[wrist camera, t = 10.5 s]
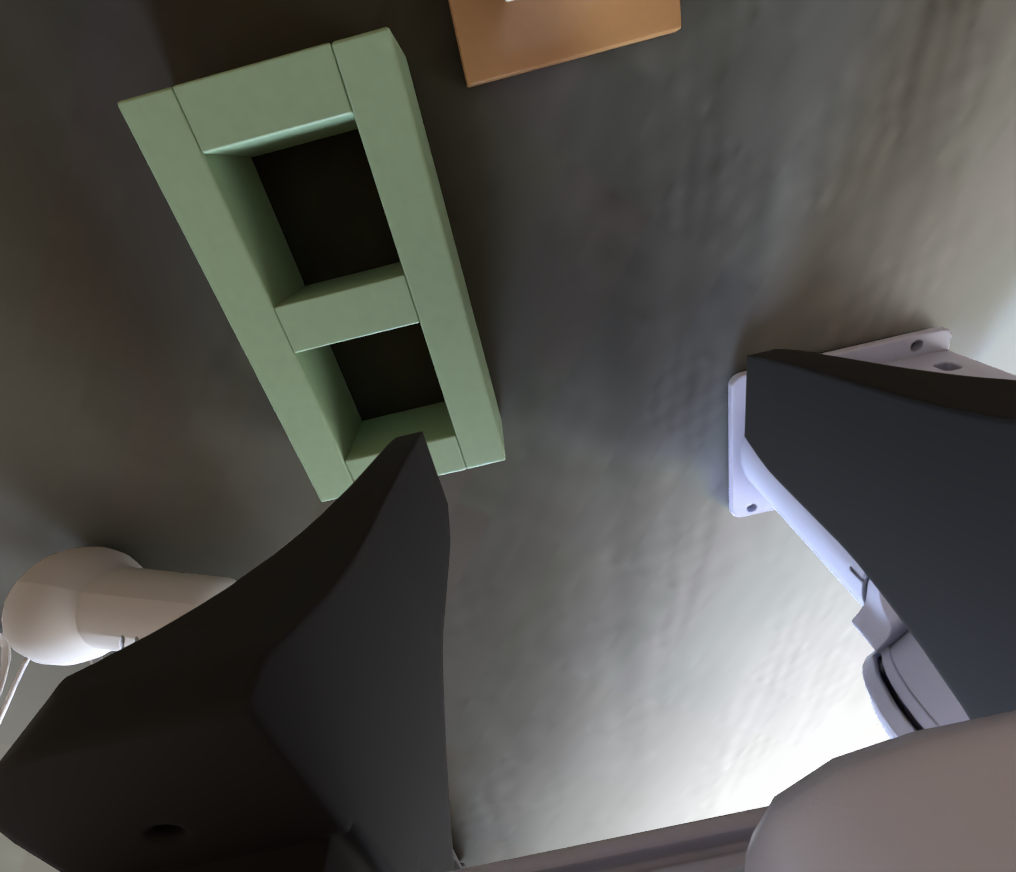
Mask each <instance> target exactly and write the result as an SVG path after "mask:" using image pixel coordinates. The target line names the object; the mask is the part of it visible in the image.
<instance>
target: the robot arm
mask: <svg viewBox="0 0 1016 872" xmlns="http://www.w3.org/2000/svg"><path fill="white" fill-rule="evenodd" d="M951 335H952V333H951V331H950V330H948V329H946V328H943V327H934V328H929V329H925V330H921V331H916V332H912V333H908V334H903V335H899V336H895V337H890V338H886V339H882V340H877V341H873V342H869V343H864V344H860V345H856V346H851V347H847V348H843V349H838V350H834V351H830V352H825V353H821V354H819V353H813V352H805V351H798V350H787V349H774V350H769V351H765V352H761V353H757V354H752V355H748V356H747V371H743V372H739V373H737V374H735V375H734V376H732V377H731V379H730V380H729V383H728V439H729V510H730V512H731V513H732V514H733V515H734V516H735V517H744V516H748V515H753V514H757V513H762V512H767V511H771V510H776V511H777V512H778V513H779V514H780V515H781V516H782V517H783V519H784V520H785V521H786V522H787V523H788V524H789V525H790V526H791V527H792V529H793V530H794V531H795V532H796V533H797V534H798V535H799V536H800V538H801V539H802V540H803V541H804V542H805V543H806V544H807V545H808V546H809V548H810V549H811V550H812V551H813V552H814V553H815V554H816V555H817V556H818V558H819V559H820V560H821V561H822V562H823V563H824V564H825V565H826V566H827V568H828V569H829V570H830V571H831V572H832V573H833V574H834V575H835V576H836V578H837V579H838V580H839V581H840V582H841V583H842V584H843V585H844V587H845V588H846V589H847V590H848V591H849V592H850V593H851V594H852V595H853V597H854V598H855V599H856V600H857V601H858V602H859V603H860V604H861V605H862V609H861V610H860V612H859V613H858V614H857V615H856V616H855V617H854V618H853V620H852V623H853V624H854V626H855V627H856V628H857V629H858V630H859V631H860V633H861V634H862V635H863V636H864V637H865V639H866V640H867V641H868V642H869V643H870V645H871V646H872V647H873V648H874V649H875V651H874V652H872V653H871V654H870V655H869V656H867V657H866V659H865V661H864V664H863V678H864V682H865V686H866V689H867V691H868V693H869V695H870V699H871V703H872V706H873V708H874V711H875V713H876V715H877V717H878V719H879V721H880V723H881V724H882V726H883V728H884V729H885V731H886V733H887V734H888V736H889V737H890V738H891V739H890V740H887V741H884V742H881V743H878V744H875V745H872V746H869V747H866V748H863V749H860V750H857V751H854V752H851V753H848V754H845V755H842V756H839V757H836V758H833V759H832V760H830V761H829V762H827V763H825V764H824V765H822V766H821V767H819V768H818V769H816V770H815V771H813V772H812V773H810V774H809V775H807V776H806V777H804V778H803V779H801V780H800V781H798V782H797V783H795V784H793V785H792V786H790V787H789V788H787V789H786V790H784V791H783V792H781V793H780V794H778V795H777V796H775V797H774V799H773V800H772V802H771V804H770V805H769V806H767V807H762V808H757V809H752V810H747V811H743V812H738V813H733V814H728V815H723V816H718V817H713V818H708V819H704V820H699V821H694V822H689V823H684V824H679V825H674V826H670V827H665V828H660V829H655V830H650V831H645V832H640V833H635V834H631V835H626V836H621V837H616V838H611V839H606V840H601V841H596V842H592V843H587V844H582V845H577V846H572V847H567V848H562V849H558V850H553V851H548V852H543V853H538V854H533V855H528V856H523V857H519V858H514V859H509V860H504V861H499V862H494V863H489V864H484V865H480V866H475V867H470V868H465V869H460V870H455V871H454V859H453V846H452V833H451V820H450V806H449V789H448V773H447V756H446V736H445V713H444V685H443V628H444V616H445V604H446V591H447V579H448V566H449V553H450V527H449V513H448V503H447V500H446V497H445V494H444V492H443V489H442V486H441V483H440V480H439V477H438V474H437V471H436V469H435V466H434V463H433V460H432V457H431V454H430V451H429V448H428V446H427V443H426V440H425V437H424V434H423V431H421V432H417V433H413V434H408V435H404V436H400V437H396V438H395V439H393V440H392V441H391V442H390V443H389V444H388V445H387V446H386V447H385V448H384V449H383V450H382V452H381V453H380V454H379V455H378V456H377V457H376V458H375V459H374V460H373V462H372V463H371V464H370V465H369V466H368V467H367V468H366V469H365V470H364V471H363V473H362V474H361V475H360V476H359V477H358V478H357V479H356V480H355V481H354V482H353V484H352V485H351V486H350V487H349V488H348V489H347V490H346V491H345V492H344V493H343V494H342V495H341V496H340V497H339V498H338V499H337V500H336V501H335V502H334V503H333V504H332V505H331V506H330V507H329V508H328V509H327V510H326V511H325V512H324V513H323V514H322V515H321V516H320V517H318V518H317V519H316V520H315V521H314V522H313V523H312V524H311V525H310V526H308V527H307V528H306V529H305V530H304V531H303V532H301V533H300V534H299V535H298V536H297V537H295V538H294V539H293V540H292V541H291V542H289V543H288V544H287V545H286V546H284V547H283V548H282V549H281V550H279V551H278V552H277V553H275V554H274V555H273V556H271V557H270V558H269V559H267V560H266V561H264V562H263V563H262V564H260V565H259V566H257V567H256V568H255V569H253V570H252V571H250V572H249V573H247V574H246V575H245V576H243V577H242V578H240V579H239V580H238V581H236V582H235V583H233V584H232V585H231V586H229V587H228V588H226V589H224V590H223V591H221V592H220V593H218V594H217V595H215V596H213V597H212V598H210V599H209V600H207V601H206V602H204V603H202V604H201V605H199V606H198V607H196V608H194V609H192V610H191V611H189V612H187V613H186V614H184V615H182V616H181V617H179V618H177V619H176V620H174V621H172V622H170V623H169V624H167V625H165V626H163V627H162V628H160V629H158V630H156V631H155V632H153V633H151V634H149V635H147V636H145V637H144V638H142V639H140V640H138V641H136V642H134V643H132V644H130V645H128V646H126V647H124V648H122V649H121V650H119V651H117V652H115V653H113V654H111V655H109V656H107V657H105V658H103V659H101V660H100V661H98V662H96V663H94V664H92V665H90V666H88V667H86V668H84V669H82V670H80V671H78V672H76V673H74V674H72V675H70V676H68V677H66V678H65V679H64V680H63V681H62V682H61V683H60V684H59V685H58V687H57V688H56V689H55V691H54V692H53V693H52V695H51V696H50V697H49V699H48V700H47V701H46V703H45V704H44V705H43V706H42V708H41V709H40V710H39V712H38V713H37V714H36V715H35V717H34V718H33V719H32V721H31V722H30V723H29V725H28V726H27V727H26V728H25V730H24V731H23V732H22V734H21V735H20V736H19V737H18V739H17V740H16V741H15V743H14V744H13V745H12V746H11V748H10V749H9V750H8V752H7V753H6V754H5V755H4V757H3V758H2V759H1V761H0V832H1V833H2V834H4V835H5V836H6V837H7V838H9V839H10V840H11V841H12V842H14V843H15V844H17V845H18V846H20V847H21V848H23V849H25V850H26V851H28V852H29V853H31V854H33V855H34V856H36V857H38V858H39V859H41V860H42V861H44V862H46V863H47V864H49V865H50V866H52V867H54V868H55V869H57V870H59V871H60V872H1016V376H1015V375H1013V374H1010V373H1007V372H1005V371H1002V370H999V369H997V368H994V367H991V366H989V365H986V364H983V363H981V362H978V361H975V360H973V359H970V358H967V357H965V356H962V355H959V354H957V353H954V352H951V351H949V346H950V342H951ZM915 341H916V342H915ZM914 342H915V345H914V346H913V347H911V345H912V344H913V343H914ZM750 504H752V505H751V506H750V507H748V506H749V505H750Z"/></svg>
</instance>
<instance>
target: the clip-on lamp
mask: <svg viewBox="0 0 1016 872" xmlns="http://www.w3.org/2000/svg"><path fill="white" fill-rule="evenodd" d="M236 581H237V580H234V579H232V578H227V577H221V576H211V575H201V574H192V573H182V572H172V571H163V570H153V569H144V568H142V566H140V565H139V564H138V563H137V562H136V561H135V560H134V559H133V558H131V557H130V556H129V555H127V554H125V553H122V552H119V551H116V550H113V549H110V548H106V547H77V548H72V549H68V550H65V551H62V552H59V553H56V554H53V555H51V556H48V557H46V558H44V559H43V560H41V561H40V562H38V563H37V564H35V565H34V566H32V567H30V568H29V569H28V570H27V571H26V572H25V573H24V574H23V575H22V576H21V578H20V579H19V580H18V581H17V582H16V583H15V584H14V586H13V588H12V590H11V591H10V593H9V595H8V597H7V598H6V600H5V604H4V608H3V613H2V617H1V621H2V628H3V633H2V632H0V646H1V649H2V665H1V669H0V696H1V693H2V690H3V687H4V684H5V681H6V678H7V674H8V669H9V665H10V661H11V647H12V648H13V649H14V650H15V651H16V652H18V653H19V654H21V655H23V656H25V659H24V661H23V663H22V665H21V667H20V669H19V671H18V673H17V675H16V677H15V679H14V681H13V683H12V686H11V688H10V690H9V692H8V695H7V697H6V699H5V701H4V704H3V706H2V708H1V710H0V724H1V722H2V720H3V717H4V715H5V713H6V711H7V708H8V706H9V704H10V702H11V699H12V697H13V694H14V692H15V690H16V687H17V685H18V683H19V681H20V679H21V677H22V674H23V672H24V670H25V668H26V666H27V664H28V662H29V660H32V661H34V662H37V663H41V664H52V665H73V664H78V663H81V662H85V661H89V662H90V663H91V664H94V663H96V662H98V661H100V660H101V659H103V658H104V657H103V655H104V654H106V653H108V652H109V651H119V650H121V649H122V648H124V647H126V646H128V645H130V644H132V643H134V642H136V641H138V640H140V639H142V638H144V637H145V636H147V635H149V634H151V633H153V632H155V631H156V630H158V629H160V628H162V627H163V626H165V625H167V624H169V623H170V622H172V621H174V620H176V619H177V618H179V617H181V616H182V615H184V614H186V613H187V612H189V611H191V610H192V609H194V608H196V607H198V606H199V605H201V604H202V603H204V602H206V601H207V600H209V599H210V598H212V597H213V596H215V595H217V594H218V593H220V592H221V591H223V590H224V589H226V588H228V587H229V586H231V585H232V584H233V583H235V582H236Z"/></svg>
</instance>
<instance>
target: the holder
mask: <svg viewBox="0 0 1016 872" xmlns="http://www.w3.org/2000/svg"><path fill="white" fill-rule="evenodd" d="M118 106H119V108H120V110H121V112H122V114H123V116H124V118H125V120H126V122H127V124H128V126H129V128H130V130H131V132H132V134H133V136H134V138H135V140H136V142H137V143H138V145H139V147H140V149H141V151H142V153H143V155H144V157H145V159H146V161H147V163H148V165H149V167H150V169H151V171H152V173H153V175H154V177H155V179H156V180H157V182H158V184H159V186H160V188H161V190H162V192H163V194H164V196H165V198H166V200H167V202H168V204H169V206H170V208H171V210H172V212H173V214H174V216H175V217H176V219H177V221H178V223H179V225H180V227H181V229H182V231H183V233H184V235H185V237H186V239H187V241H188V243H189V245H190V247H191V249H192V251H193V253H194V254H195V256H196V258H197V260H198V262H199V264H200V266H201V268H202V270H203V272H204V274H205V276H206V278H207V280H208V282H209V284H210V286H211V288H212V290H213V292H214V293H215V295H216V297H217V299H218V301H219V303H220V305H221V307H222V309H223V311H224V313H225V315H226V317H227V319H228V321H229V323H230V325H231V327H232V329H233V330H234V332H235V334H236V336H237V338H238V340H239V342H240V344H241V346H242V348H243V350H244V352H245V354H246V356H247V358H248V360H249V362H250V364H251V366H252V367H253V369H254V371H255V373H256V375H257V377H258V379H259V381H260V383H261V385H262V387H263V389H264V391H265V393H266V395H267V397H268V399H269V401H270V403H271V405H272V406H273V408H274V410H275V412H276V414H277V416H278V418H279V420H280V422H281V424H282V426H283V428H284V430H285V432H286V434H287V436H288V438H289V440H290V442H291V443H292V445H293V447H294V449H295V451H296V453H297V455H298V457H299V459H300V461H301V463H302V465H303V467H304V469H305V471H306V473H307V475H308V477H309V479H310V480H311V482H312V484H313V486H314V488H315V490H316V492H317V494H318V496H319V498H320V500H321V501H322V502H324V501H328V500H333V499H337V498H339V497H340V496H341V495H342V494H343V493H344V492H345V491H346V490H347V489H348V488H349V487H350V486H351V485H352V484H353V482H354V481H355V480H356V479H357V478H358V477H359V476H360V475H361V474H362V473H363V471H364V470H365V469H366V468H367V467H368V466H369V465H370V464H371V463H372V462H373V460H374V459H375V458H376V457H377V456H378V455H379V454H380V453H381V452H382V450H383V449H384V448H385V447H386V446H387V445H388V444H389V443H390V442H391V441H392V440H393V439H395V438H396V437H400V436H404V435H408V434H413V433H417V432H421V431H423V434H424V437H425V440H426V443H427V446H428V448H429V451H430V454H431V457H432V460H433V463H434V466H435V469H436V471H437V474H438V476H439V475H443V474H447V473H452V472H456V471H460V470H465V469H466V467H467V468H472V467H477V466H481V465H486V464H490V463H494V462H499V461H503V460H505V458H506V457H505V448H504V439H503V430H502V422H501V417H500V413H499V409H498V405H497V402H496V398H495V394H494V390H493V386H492V383H491V379H490V375H489V371H488V367H487V364H486V360H485V356H484V352H483V348H482V345H481V341H480V337H479V333H478V329H477V326H476V322H475V318H474V314H473V310H472V307H471V303H470V299H469V295H468V291H467V288H466V284H465V280H464V276H463V272H462V269H461V265H460V261H459V257H458V253H457V249H456V246H455V242H454V238H453V234H452V230H451V227H450V223H449V219H448V215H447V211H446V208H445V204H444V200H443V196H442V192H441V189H440V185H439V181H438V177H437V173H436V170H435V166H434V162H433V158H432V154H431V151H430V147H429V143H428V139H427V135H426V132H425V128H424V124H423V120H422V116H421V113H420V109H419V105H418V101H417V97H416V94H415V90H414V86H413V82H412V78H411V75H410V71H409V67H408V63H407V59H406V56H405V55H404V53H403V51H402V50H401V48H400V46H399V44H398V43H397V41H396V39H395V38H394V36H393V34H392V32H391V31H390V29H389V28H388V27H384V28H380V29H377V30H373V31H370V32H366V33H362V34H359V35H355V36H352V37H348V38H344V39H341V40H337V41H334V42H333V43H332V45H331V44H330V43H325V44H322V45H318V46H314V47H311V48H307V49H304V50H300V51H297V52H293V53H289V54H286V55H282V56H279V57H275V58H271V59H268V60H264V61H261V62H257V63H253V64H250V65H246V66H243V67H239V68H236V69H232V70H228V71H225V72H221V73H218V74H214V75H210V76H207V77H203V78H200V79H196V80H193V81H189V82H185V83H182V84H178V85H175V86H173V88H171V87H168V88H165V89H161V90H158V91H154V92H150V93H147V94H143V95H140V96H136V97H133V98H129V99H125V100H122V101H119V102H118ZM356 129H358V130H359V133H360V136H361V139H362V143H363V146H364V149H365V152H366V155H367V158H368V161H369V165H370V168H371V171H372V174H373V177H374V180H375V183H376V186H377V190H378V193H379V196H380V199H381V202H382V205H383V208H384V211H385V215H386V218H387V221H388V224H389V227H390V230H391V233H392V236H393V240H394V243H395V246H396V249H397V252H398V255H399V258H400V262H398V263H394V264H390V265H386V266H382V267H378V268H374V269H370V270H366V271H362V272H358V273H354V274H350V275H346V276H342V277H338V278H334V279H330V280H326V281H322V282H319V283H315V284H311V285H307V286H305V284H304V282H303V280H302V277H301V275H300V272H299V270H298V268H297V265H296V263H295V260H294V258H293V256H292V253H291V251H290V249H289V246H288V244H287V241H286V239H285V237H284V234H283V232H282V230H281V227H280V225H279V222H278V220H277V218H276V215H275V213H274V211H273V208H272V206H271V203H270V201H269V199H268V196H267V194H266V192H265V189H264V187H263V184H262V182H261V180H260V177H259V175H258V173H257V170H256V168H255V165H254V163H253V161H252V158H251V157H255V156H259V155H263V154H266V153H270V152H274V151H277V150H281V149H285V148H289V147H292V146H296V145H300V144H304V143H307V142H311V141H315V140H318V139H322V138H326V137H330V136H333V135H337V134H341V133H344V132H348V131H352V130H356ZM419 321H420V324H421V327H422V330H423V333H424V337H425V340H426V343H427V346H428V349H429V352H430V355H431V358H432V362H433V365H434V368H435V371H436V374H437V377H438V380H439V384H440V387H441V390H442V393H443V396H444V399H445V401H444V402H440V403H436V404H431V405H427V406H423V407H419V408H414V409H410V410H406V411H402V412H397V413H393V414H389V415H385V416H381V417H376V418H372V419H368V420H364V421H363V422H362V420H361V417H360V415H359V413H358V410H357V408H356V406H355V403H354V401H353V398H352V396H351V394H350V391H349V389H348V386H347V384H346V382H345V379H344V377H343V375H342V372H341V370H340V367H339V365H338V363H337V360H336V358H335V356H334V353H333V351H332V348H331V346H330V344H334V343H338V342H342V341H346V340H350V339H354V338H359V337H363V336H367V335H371V334H375V333H379V332H383V331H387V330H391V329H395V328H399V327H403V326H407V325H412V324H416V323H419Z"/></svg>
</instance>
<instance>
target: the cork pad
mask: <svg viewBox="0 0 1016 872" xmlns="http://www.w3.org/2000/svg"><path fill="white" fill-rule="evenodd" d="M448 3H449V8H450V12H451V17H452V21H453V26H454V31H455V35H456V40H457V44H458V49H459V53H460V58H461V62H462V67H463V72H464V76H465V81H466V85H467V87H468V88H470V87H474V86H477V85H481V84H485V83H488V82H492V81H496V80H500V79H503V78H507V77H511V76H514V75H518V74H522V73H526V72H529V71H533V70H537V69H540V68H544V67H548V66H551V65H555V64H559V63H563V62H566V61H570V60H574V59H577V58H581V57H585V56H589V55H592V54H596V53H600V52H603V51H607V50H611V49H614V48H618V47H622V46H626V45H629V44H633V43H637V42H640V41H644V40H648V39H652V38H655V37H659V36H663V35H666V34H670V33H674V32H676V31H677V30H679V29H680V28H681V14H680V0H513V1H510V2H507V1H505V0H448Z"/></svg>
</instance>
